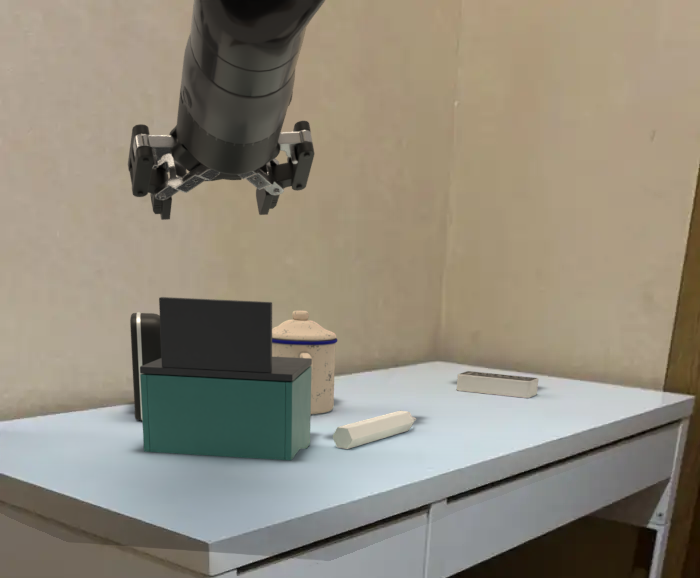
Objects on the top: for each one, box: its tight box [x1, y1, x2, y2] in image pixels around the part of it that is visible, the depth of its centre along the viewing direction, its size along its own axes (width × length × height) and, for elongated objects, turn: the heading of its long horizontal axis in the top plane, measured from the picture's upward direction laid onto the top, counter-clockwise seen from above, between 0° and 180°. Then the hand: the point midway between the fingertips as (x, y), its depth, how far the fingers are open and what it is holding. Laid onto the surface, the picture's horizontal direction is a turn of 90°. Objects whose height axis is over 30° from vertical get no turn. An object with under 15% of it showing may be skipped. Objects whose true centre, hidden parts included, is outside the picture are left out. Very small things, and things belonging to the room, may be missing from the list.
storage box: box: [140, 366, 312, 461], centre depth 91 cm, size 14×12×8 cm
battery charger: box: [129, 311, 161, 421], centre depth 106 cm, size 7×4×11 cm, turn 11°
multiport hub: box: [456, 370, 539, 399], centre depth 135 cm, size 4×11×2 cm, turn 63°
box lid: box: [140, 296, 312, 381], centre depth 88 cm, size 14×12×7 cm
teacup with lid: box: [272, 310, 338, 415], centre depth 113 cm, size 12×9×12 cm
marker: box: [331, 410, 417, 450], centre depth 102 cm, size 3×2×16 cm
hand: (212, 207), depth 81 cm, fingers open, 8 cm apart
